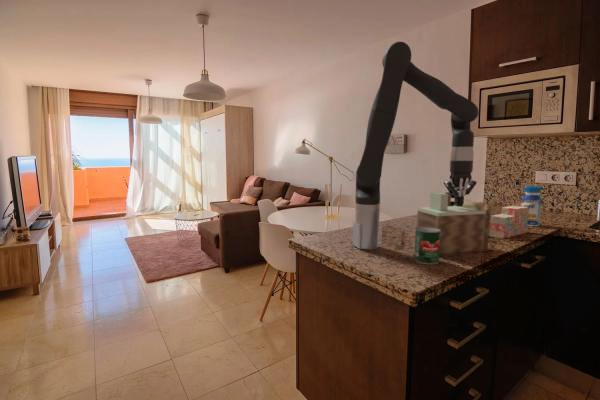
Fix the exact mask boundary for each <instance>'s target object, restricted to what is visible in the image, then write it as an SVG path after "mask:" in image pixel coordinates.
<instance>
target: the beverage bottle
mask: <svg viewBox="0 0 600 400" xmlns="http://www.w3.org/2000/svg"><path fill="white" fill-rule="evenodd" d="M541 190H542V187H541V186H537V185H526V186H524V190H523V192H524V193H525V194H524V195H523V196H522V198H521V200H522V202H521V203H520V206H523V207H529V212H528V222H527V227H533V226H535V227H540V219H541V210H542V200H543V199H542V197H541V195H540V194H541V192H542V191H541Z"/></svg>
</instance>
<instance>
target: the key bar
mask: <svg viewBox="0 0 600 400" xmlns="http://www.w3.org/2000/svg"><path fill="white" fill-rule="evenodd" d="M461 207H465V208H470V209H475V210H480V211H483V210H487V209H488V203H487V202H481V201H475V200H468V199H464V204H463V206H461Z"/></svg>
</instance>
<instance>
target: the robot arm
mask: <svg viewBox="0 0 600 400" xmlns="http://www.w3.org/2000/svg"><path fill="white" fill-rule="evenodd" d="M411 60H412V50H411V48H410V46H409V45H408V44H407V43H406V42H404V41H396V42H393V43H391V45H389V46H388V48H387V49H386V50H385V53H384V54H383V57H382V67H383V72H382V77H381V81H380V84H379V88H378V90H377V91H376V94H375V97H374V99H373V103H372V106H371V109H370V111H369V112H370V113H369V117H368V122H367V129H366V136H365V145H364V149H363V150H364V151H363V152H362V156H361V159H360V161H359V165H358V167H357V168H356V172H355V214H354V217H355V218H354V221H353V222H352V246H353V245H354V246H353V247H355V246H356V247H357V248H356V247H355V248H356V249H358V248H359V249H358V250H376V249H379V242H380V239H379V237H380V213H381V191H380V190H381V178H382V171H383V164H384V163H383V162H384V156H385V152H386V149H387V146H388V143H389V140H390V137H391V135H392V132H393V129H394V125H395V121H396V118H397V114H398V107H399V104H400V98H401V90H402V86H403V83H404V82H405V83H407V84H408V85H410V86H411V87H412V88H414V89H415V90H417V91H418V92H420V94H422V95H423V96H424V97H426V98H427V99H428V100H429V101H430V102H431V103H433V104H435V105H436V106H437V107H438V108H440V109H441V110H447V111H448V112H450V113H451V115H450V126H451V127H450V128H451V133H452V139H451V140H452V141H451V150H450V159H449V160H450V162H449V172H450V175H449V179H448V180H447V181H445V180H444V182H443V184H444V186H445V188H446V190H447V191H448V192H449V193H450V194H452V195H454V196H455V206H458V207H461V206H463V204H464V200H465V198H464V197H465V196H466V195H468V196H469V195H470V193H471V192H472V190H473V189H474V188H475V186H476V185H477V183H478V181H476V180H473V179H472V173H473V169H474V167H473V166H474V154H475V153H474V141H475V140H474V138H475V134H474V132H473V131H472V130H471V123H472V122H474V121H475V120H476V119H477V118H478V116H479V113H480V112H479V108H478V107H477V105H476V104H475V103H474V102H473V101H471V99H468V98H467V97H465V96H463V95H461V94H460V93H457V92H455V90H453V89H452V88H451V87H450V86H448V85H447V84H446V83H445V82H443V81H442V80H440V79H439V78H437V77H434V76H432V75H430V74H428V73H426V72H425V71H422V69H420V68H418V67H417V66H416V65H415V64H414V63H413V62H412V61H411Z"/></svg>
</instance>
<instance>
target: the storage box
mask: <svg viewBox="0 0 600 400" xmlns="http://www.w3.org/2000/svg"><path fill="white" fill-rule="evenodd" d="M416 213H417V217H416V218H417V219H416V228H417V227H433V228H438V229H440V230H441V231H440V248H439V257H448V256H458V255H469V254H472V255H473V254H480V253H482V254H483V253H484V251H483V245H484V231H485V218H486V214H472V215H453V216H435V215H431V214H428V213H424V212H420V211H418V210H417V212H416Z"/></svg>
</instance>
